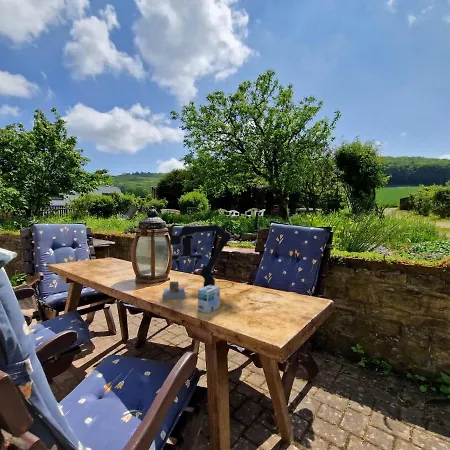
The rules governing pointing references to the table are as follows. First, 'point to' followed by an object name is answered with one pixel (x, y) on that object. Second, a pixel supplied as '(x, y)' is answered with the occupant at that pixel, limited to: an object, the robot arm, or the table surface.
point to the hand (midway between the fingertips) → (186, 270)
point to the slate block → (174, 294)
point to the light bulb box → (208, 298)
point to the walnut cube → (174, 287)
